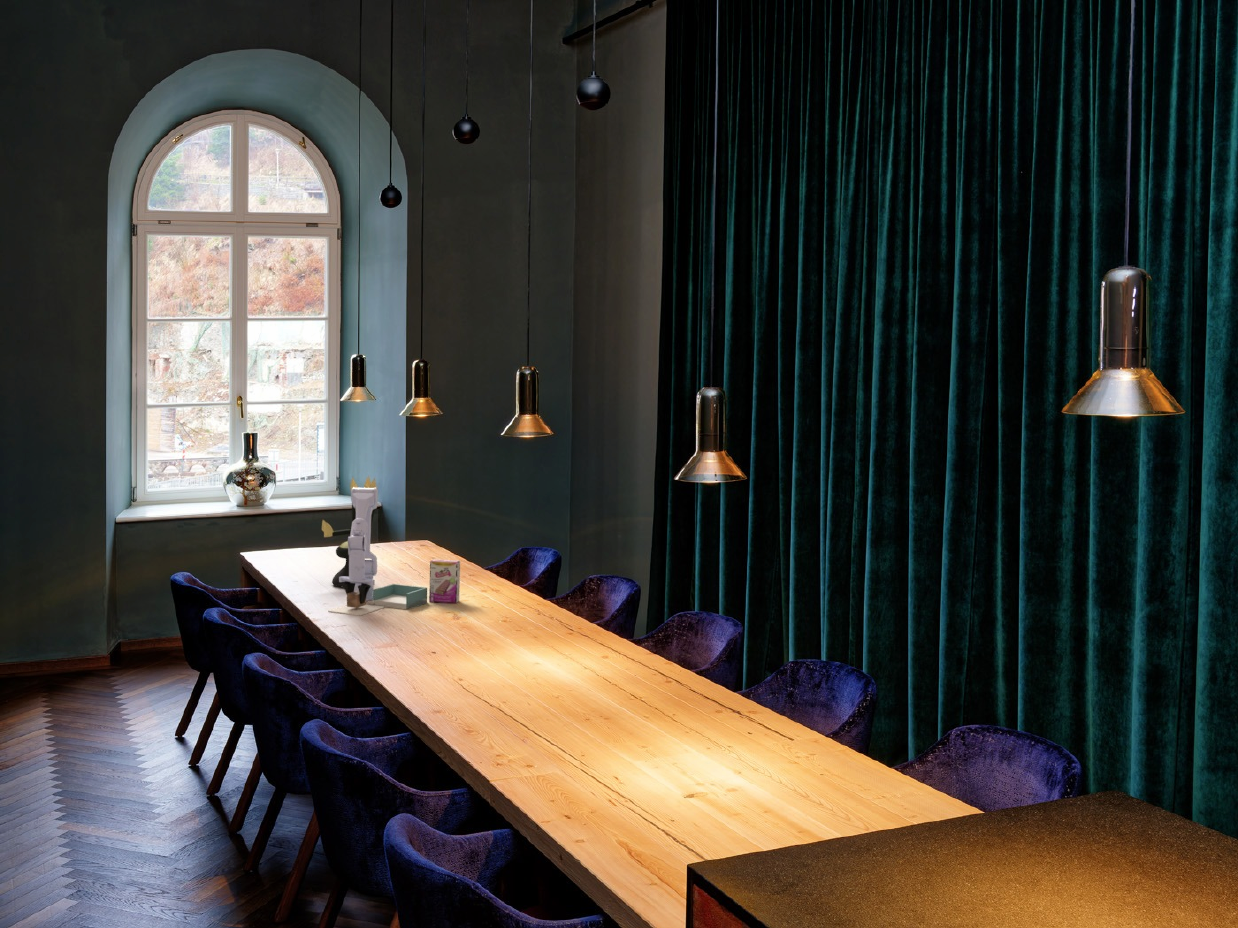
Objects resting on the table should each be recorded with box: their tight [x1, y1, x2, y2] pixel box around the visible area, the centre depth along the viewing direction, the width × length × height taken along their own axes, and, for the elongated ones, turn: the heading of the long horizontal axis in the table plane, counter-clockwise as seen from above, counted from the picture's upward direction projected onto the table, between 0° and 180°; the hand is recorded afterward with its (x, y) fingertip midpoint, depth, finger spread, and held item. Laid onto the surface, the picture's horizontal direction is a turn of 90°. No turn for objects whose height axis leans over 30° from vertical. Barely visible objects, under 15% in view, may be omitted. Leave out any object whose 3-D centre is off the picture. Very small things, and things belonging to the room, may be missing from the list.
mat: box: [328, 604, 385, 617], centre depth 449 cm, size 14×16×1 cm
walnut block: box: [346, 591, 367, 608], centre depth 449 cm, size 4×6×5 cm
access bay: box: [372, 583, 428, 610], centre depth 461 cm, size 16×14×6 cm
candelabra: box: [321, 475, 378, 589], centre depth 496 cm, size 19×22×45 cm
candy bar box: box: [428, 558, 461, 604], centre depth 467 cm, size 11×5×16 cm, turn 84°
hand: (356, 602), depth 449 cm, fingers closed on walnut block, 4 cm apart
